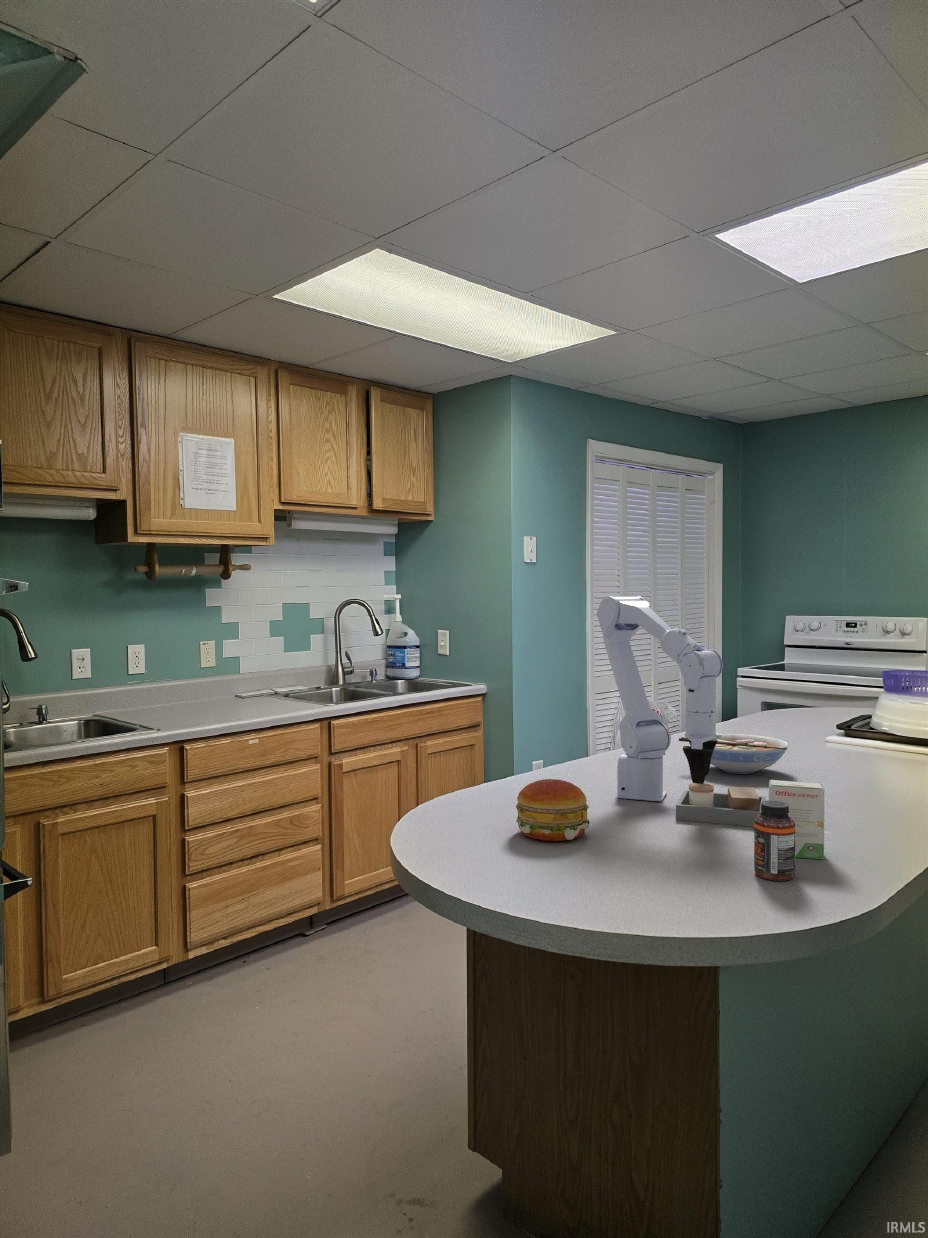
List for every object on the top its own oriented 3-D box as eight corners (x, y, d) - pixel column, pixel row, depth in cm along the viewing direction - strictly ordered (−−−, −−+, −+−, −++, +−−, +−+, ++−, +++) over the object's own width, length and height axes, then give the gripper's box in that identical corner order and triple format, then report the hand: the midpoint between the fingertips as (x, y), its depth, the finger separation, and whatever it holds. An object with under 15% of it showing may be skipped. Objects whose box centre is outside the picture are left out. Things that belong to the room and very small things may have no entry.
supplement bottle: (747, 870, 129) (747, 798, 128) (783, 868, 129) (784, 797, 129) (764, 883, 123) (764, 808, 123) (802, 882, 123) (802, 807, 123)
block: (731, 823, 156) (731, 797, 156) (727, 811, 164) (727, 786, 164) (759, 825, 155) (759, 798, 154) (753, 812, 163) (753, 787, 163)
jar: (687, 815, 161) (687, 787, 161) (690, 809, 166) (690, 782, 165) (712, 817, 159) (712, 789, 159) (715, 811, 164) (715, 784, 164)
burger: (502, 829, 152) (502, 776, 152) (566, 821, 158) (565, 769, 157) (537, 850, 140) (537, 792, 140) (604, 840, 145) (604, 784, 145)
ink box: (768, 855, 136) (768, 785, 136) (767, 846, 141) (767, 778, 141) (824, 860, 133) (825, 788, 133) (821, 851, 138) (822, 781, 138)
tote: (675, 819, 158) (675, 805, 158) (684, 803, 170) (684, 790, 170) (763, 827, 152) (763, 812, 152) (766, 810, 164) (766, 796, 164)
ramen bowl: (801, 768, 204) (801, 735, 204) (782, 786, 185) (782, 750, 185) (701, 758, 217) (701, 727, 217) (674, 774, 198) (674, 740, 198)
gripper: (718, 717, 154) (718, 789, 154) (724, 707, 167) (724, 773, 168) (680, 715, 156) (679, 785, 157) (689, 705, 170) (689, 770, 170)
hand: (700, 779), depth 162 cm, fingers open, 7 cm apart
